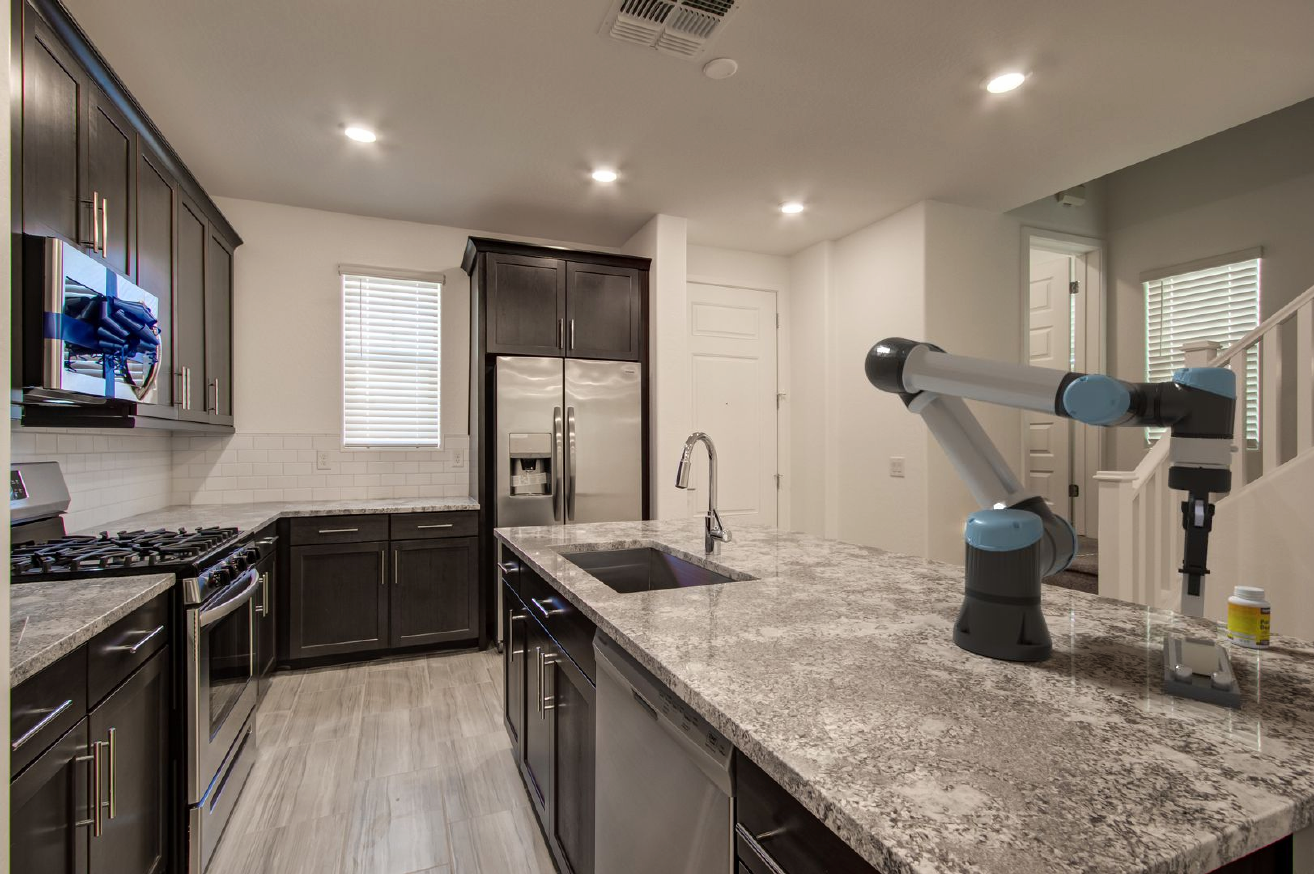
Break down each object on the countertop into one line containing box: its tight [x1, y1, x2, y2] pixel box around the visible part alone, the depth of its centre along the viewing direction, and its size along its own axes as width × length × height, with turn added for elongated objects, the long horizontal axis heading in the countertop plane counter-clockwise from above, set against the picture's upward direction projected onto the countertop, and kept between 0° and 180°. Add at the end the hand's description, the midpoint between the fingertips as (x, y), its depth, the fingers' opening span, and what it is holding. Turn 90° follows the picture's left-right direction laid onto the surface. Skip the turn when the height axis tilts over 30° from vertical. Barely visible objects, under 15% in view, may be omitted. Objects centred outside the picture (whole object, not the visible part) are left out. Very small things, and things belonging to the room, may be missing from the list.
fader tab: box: [1181, 636, 1219, 676], centre depth 92 cm, size 4×3×5 cm
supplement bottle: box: [1227, 585, 1271, 650], centre depth 113 cm, size 6×6×10 cm
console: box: [1162, 636, 1242, 710], centre depth 97 cm, size 8×26×4 cm, turn 141°
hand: (1191, 614), depth 99 cm, fingers closed
